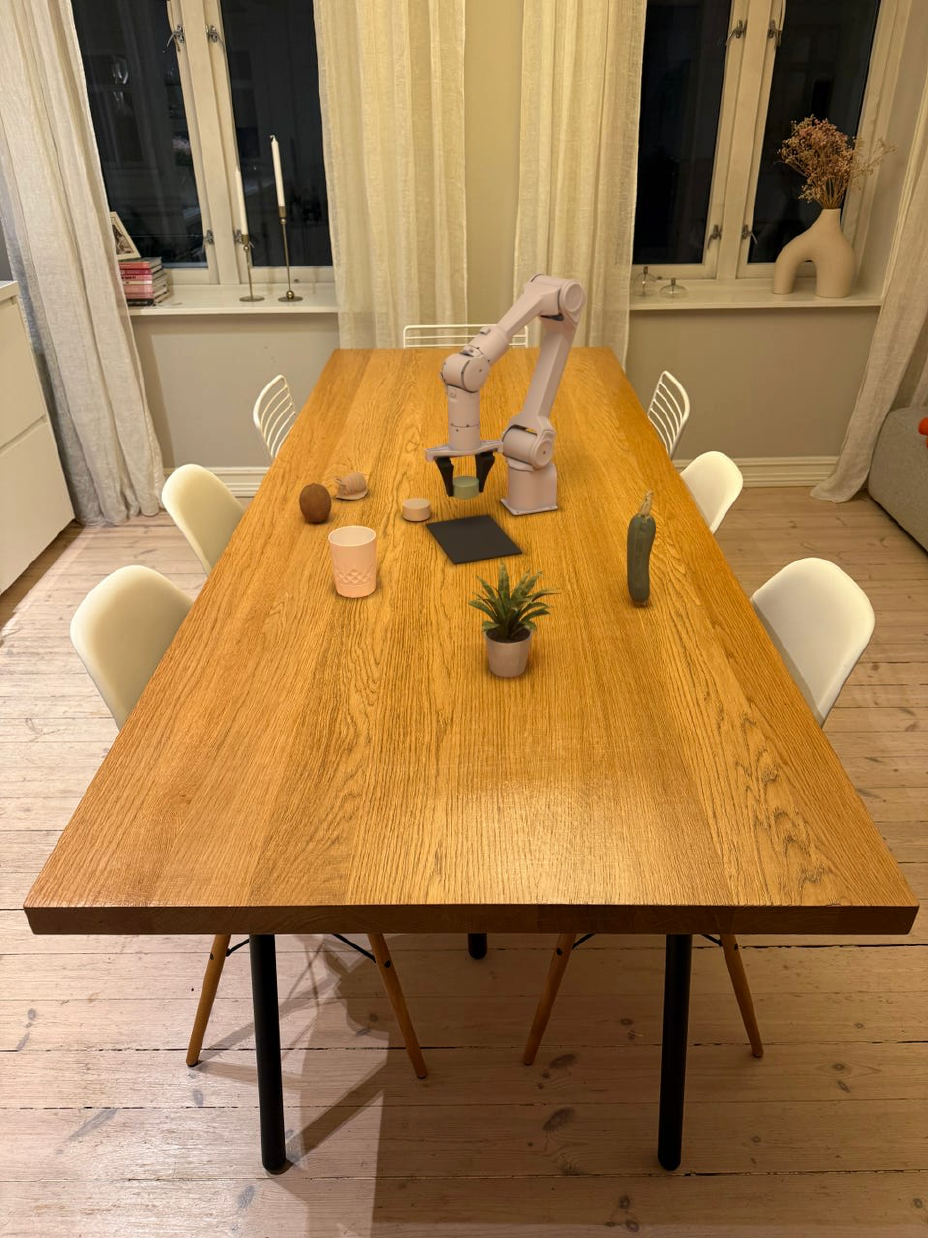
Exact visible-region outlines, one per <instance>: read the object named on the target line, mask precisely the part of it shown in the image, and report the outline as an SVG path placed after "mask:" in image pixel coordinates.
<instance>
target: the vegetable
mask: <svg viewBox="0 0 928 1238" xmlns="http://www.w3.org/2000/svg"><path fill="white" fill-rule="evenodd" d="M653 495H654V490H652V489H651V488H649V489H648V491H647V492H646V494H645V495H644V497H643V500H642V501H641V502H640V504H639V507H638V511H637V513H636V514H634V515H633V516H632V517H631V519H630V521H629V524H628V528H627V535H626V536H627V537H626V582H627V583H626V584H627V590H628V593H629V596H630V598H631V600H632V601H633V602H634V603H635V604H636V605H637V606H639V605H640V606H644V607H646V605H647V604H649V603H650V595H651V579H650V578H651V577H650V560H651V559H650V558H651V553H652V551H653V550H652V549H653V546H654V542H655V540H656V539H655V538H656V535H657V534H656V533H657V523H656V520H655V518H654V517H653V515H652V514H650V513H651V510H652V508H653V507H652V506H653V499H654V497H653Z"/></svg>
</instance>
